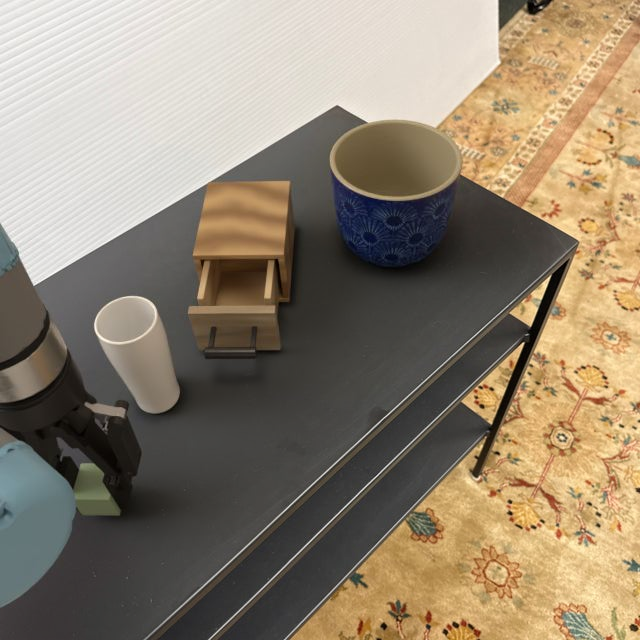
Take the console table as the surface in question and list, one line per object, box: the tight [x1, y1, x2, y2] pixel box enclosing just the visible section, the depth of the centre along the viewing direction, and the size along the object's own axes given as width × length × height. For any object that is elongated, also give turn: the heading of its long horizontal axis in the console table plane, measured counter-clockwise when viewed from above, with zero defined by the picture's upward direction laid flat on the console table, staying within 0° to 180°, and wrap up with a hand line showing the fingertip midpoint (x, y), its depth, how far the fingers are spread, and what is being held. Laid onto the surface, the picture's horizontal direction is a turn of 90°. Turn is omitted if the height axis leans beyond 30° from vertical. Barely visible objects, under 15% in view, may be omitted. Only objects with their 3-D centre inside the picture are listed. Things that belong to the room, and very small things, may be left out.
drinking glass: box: [93, 295, 181, 415], centre depth 73 cm, size 7×7×15 cm
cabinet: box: [192, 180, 296, 303], centre depth 89 cm, size 15×12×9 cm
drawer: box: [187, 259, 282, 360], centre depth 82 cm, size 18×10×7 cm, turn 179°
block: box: [73, 462, 122, 517], centre depth 68 cm, size 4×4×4 cm
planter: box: [329, 119, 464, 268], centre depth 89 cm, size 17×17×15 cm
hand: (104, 497), depth 69 cm, fingers closed on block, 4 cm apart
